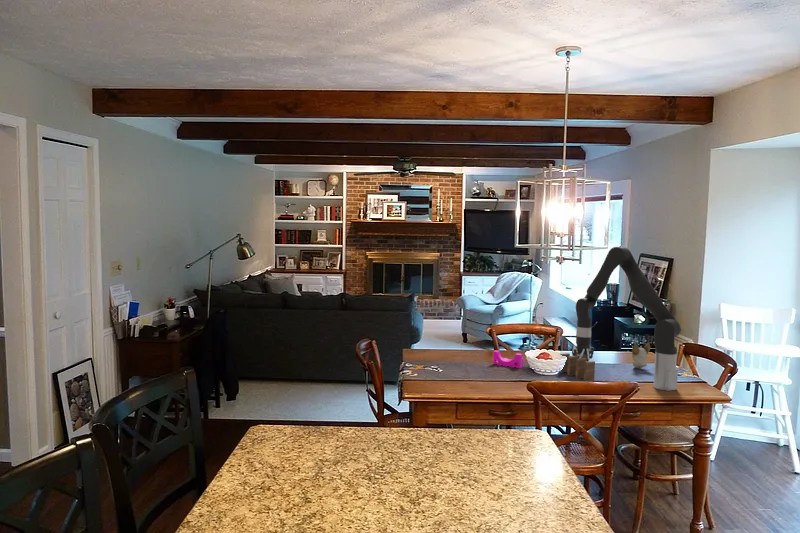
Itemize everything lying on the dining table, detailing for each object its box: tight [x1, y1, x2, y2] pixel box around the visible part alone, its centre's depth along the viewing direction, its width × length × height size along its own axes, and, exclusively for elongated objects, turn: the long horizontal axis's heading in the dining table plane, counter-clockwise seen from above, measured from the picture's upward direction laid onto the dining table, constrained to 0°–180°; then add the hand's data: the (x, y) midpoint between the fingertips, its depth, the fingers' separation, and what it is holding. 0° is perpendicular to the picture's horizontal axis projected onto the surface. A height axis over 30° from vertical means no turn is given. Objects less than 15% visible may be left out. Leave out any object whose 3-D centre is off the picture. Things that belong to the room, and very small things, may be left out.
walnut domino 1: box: [559, 352, 571, 374], centre depth 296 cm, size 2×5×10 cm, turn 115°
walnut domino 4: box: [583, 360, 596, 382], centre depth 279 cm, size 2×5×10 cm, turn 114°
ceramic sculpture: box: [631, 341, 651, 369], centre depth 307 cm, size 11×9×15 cm
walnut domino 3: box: [575, 358, 586, 380], centre depth 285 cm, size 2×5×10 cm, turn 115°
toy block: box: [492, 350, 525, 369], centre depth 309 cm, size 15×6×8 cm, turn 60°
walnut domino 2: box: [566, 355, 578, 377], centre depth 290 cm, size 2×5×10 cm, turn 115°
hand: (582, 366), depth 301 cm, fingers closed on black domino, 5 cm apart
